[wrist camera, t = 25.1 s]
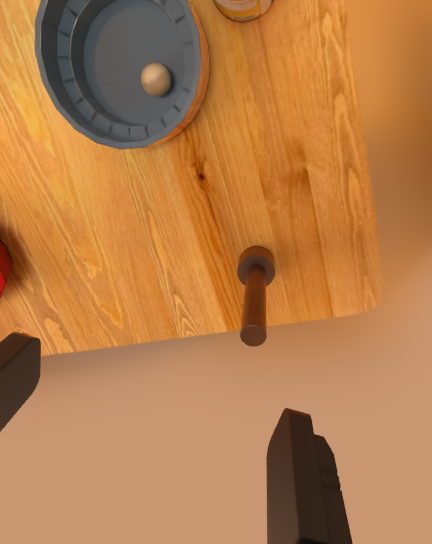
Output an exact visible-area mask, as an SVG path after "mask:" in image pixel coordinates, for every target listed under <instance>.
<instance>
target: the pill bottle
mask: <svg viewBox="0 0 432 544" xmlns="http://www.w3.org/2000/svg"><path fill="white" fill-rule="evenodd" d="M213 1H214V3H215V5H216V7H217V8H218V9H219V11H220V12H221V13H222V14H223V15H224V16H226V17H227V18H229V19H231V20H233V21H237V22H248V21H252V20H254V19H256V18H258V17H260V16H261V15H262V14H263V13H265V12H266V10H267V9H268V8H269V7H270V6H271V4H272V2H273V1H274V0H213Z"/></svg>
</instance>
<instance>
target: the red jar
mask: <svg viewBox="0 0 432 544" xmlns="http://www.w3.org/2000/svg"><path fill="white" fill-rule="evenodd" d="M12 263H13V261H12V259H11V256H10V254H9V251H8V249H7V246H6V245H5V244H4V243H3V242H2V241H1V240H0V298H1V295H2V292H3V289H4V286H5V284H6V281H7V278H8V275H9V272H10V269H11V266H12Z"/></svg>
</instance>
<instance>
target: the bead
mask: <svg viewBox="0 0 432 544" xmlns="http://www.w3.org/2000/svg"><path fill="white" fill-rule="evenodd" d="M141 83H142V86H143V88H144V90H145V91H146V92H147V93H148V94H150V95H152V96H155V97H159V96H163V95H165V94H166V93H167V92H168V91H169V89H170V86H171V75H170V73H169V71H168V69H167V68H166V67H165V66H164V65H163V64H161V63H158V62H151V63H149V64H147V65H146V66H145V67H144V68H143V70H142V73H141Z"/></svg>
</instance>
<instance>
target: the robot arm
mask: <svg viewBox="0 0 432 544" xmlns="http://www.w3.org/2000/svg"><path fill="white" fill-rule="evenodd" d="M40 354H41V342H40V339H38V338H35V337H31V336H28V335H24V334H21V333H17V332H13V333H11V334H10V335H8V336H7V337H6V338H5V339H4V340H3V341H1V342H0V431H1V430H2V429H3V428H4V427H5V426H6V424H7V423H8V422H9V421H10V420H11V418H12V417H13V416H14V415H15V413H16V412H17V411H18V410H19V409H20V408H21V406H22V405H23V404H24V403H25V401H26V400H27V399H28V398H29V397H30V396H31V394H32V393H33V392H34V390H35V388H36V386H37V384H38V381H39V378H40ZM267 544H352V539H351V535H350V529H349V525H348V520H347V516H346V510H345V506H344V501H343V496H342V491H340V482H339V477H338V476H337V467H336V463H335V458H334V454H333V452H332V450H331V448H330V447H329V445H328V444H327V442H326V440H325V438H324V437H322V436H319V435H315V434H314V432H313V426H312V419H311V416H310V415H309V414H306V413H303V412H299V411H295V410H292V409H288V408H285V409H284V411H283V413H282V415H281V417H280V419H279V422H278V424H277V426H276V428H275V430H274V433H273V435H272V437H271V440H270V442H269V446H268V451H267Z"/></svg>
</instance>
